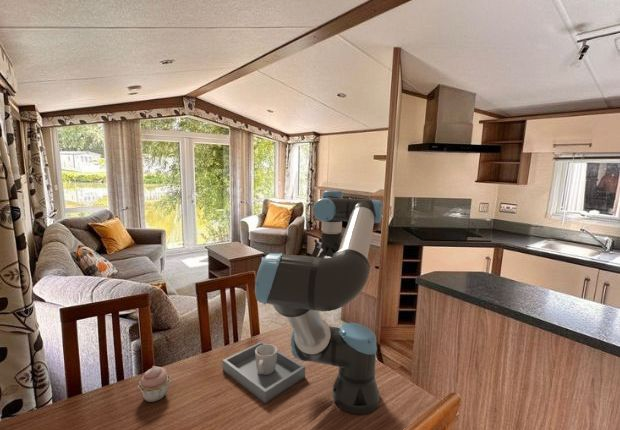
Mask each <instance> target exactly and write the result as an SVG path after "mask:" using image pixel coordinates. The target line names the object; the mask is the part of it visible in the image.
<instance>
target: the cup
mask: <svg viewBox="0 0 620 430" xmlns="http://www.w3.org/2000/svg"><path fill="white" fill-rule="evenodd" d="M278 351H279V350H278V347H277V346H276V345H273V344H269V343H266V344H264V345H260V346H258V347H257V348H256V350H255V357H256V366H257V371H258V373H259V374H262V375H268V374H271V373H273V372H274V370H275V368H276V360H277V352H278Z"/></svg>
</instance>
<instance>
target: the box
mask: <svg viewBox="0 0 620 430" xmlns="http://www.w3.org/2000/svg"><path fill="white" fill-rule="evenodd" d="M264 344H267V343H266V342H264V341H259V342H258V343H255V344H253V345H252V346H249V347H247V348H245V349H243V350H241V351H239V352H236V353H234V354H232V355H230V356H228V357H226V358H224V359H222V371H223V372H224V373H225V374H226V375H228V377H230V378H232V379H233V380H234V381H236V382H237V383H239V385H240V386H242V387H243V388H244V389H245V390H247V392H249V393H250V394H252V395H253V396H255V397H256V398H257V399H258V400H260V401H261V402H263V403H264V404H267V403H269V402H270V401H272V400H273V399H274V398H276V397H278V396H279V395H281V394H282V393H284V392H285V391H286V390H288V389H291V387H293V386H294V385H296V384H297V383H299V382H300V381H302V380H303V379H305V378H306V366H305V365H303V364H302V363H300V362H298V361H297V360H295V359H293V358H291V357H289V356H288V355H286V354H284V353H282V352H281V351H279V350H278V352H277V360H276V368H275V370H274V372H273V373H271V374H268V375H262V374H259V373H258V371H257V366H256V357H255V350H256V348H257V347H258V346H260V345H264Z"/></svg>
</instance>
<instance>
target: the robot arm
mask: <svg viewBox="0 0 620 430" xmlns="http://www.w3.org/2000/svg"><path fill="white" fill-rule="evenodd" d="M312 213H313V216H314V217H315V218H316V219H317V220H318V221H321V228H320V230H321V233H320V239H321V240H320V241H317V242H315V244H314V248H313V251H312V252H311V255H310V256H309V255H296V254H285V253H282V252H279V253H273V252H272V253H268V254H266V255H265V256H264V257H263V259H262V260H261V261H260V264H259V267H258V270H257V272H256V276H255V285H254V294H255V296H254V297H255V299H256V301H257V302H258V303H262V304H263V305H268V304H269V305H271V306H273V308H274V310H275V311H276V312H277V313H278V314H280V315H281V316H283V317H285V318H287V321H288V322H289V324H290V326H291V328H292V333H291V337H290V346H291V349H290V350H291V354H292V355H293V357H294V358H295V359H297V360H300V361H303V362H311V363H316V364H322V365H328V366H332V367H337V368H338V372H337V374H336V378H335V380H334V383H333V386H332V393H331V394H332V399H333V400H334V403H335V404H336V406H337V407H338V408H340V409H341V410H343V411H345V412H347V413H350V414H353V415H365V414H369V413H372V412H373V411H375V410H376V409H377V408H378V406H379V404H380V390H379V387H378V384H377V380H376V360H377V359H376V357H377V351H378V346H377V336H376V334H375V332H374V331H373V330H371V329H370V327H368V326H366V325H365V324H362V323H357V322H345V323H343V324H342V325H340V327H335V326H330V325H328V323H327V322H326V321H325V320H324V319H323V318H322V316H321V313H320V312H331V311H335V310H338V309H342V307H345V306H347V304H349V303H350V302H352V301H353V300H354V299H355V298H357V297H358V296H359V294H360V293H361V292H362V291H363V289H364V288H365V286H366V285H367V282H368V279H369V277H370V271H371V266H370V261H369V251H370V247H371V242H372V235H373V230H374V226H375V225H374V224H379V223H381V222H382V219H383V218H382V217H383V202H382V201H381V200H379V199H371V198H369V199H368V198H367V199H366V198H365V199H364V198H344V193H343V192H342V191H341V190H326V189H325V190H323V191H322V197H321V198H319V199H318V200H317V201H316V202H314V204H313V207H312ZM343 222H347V225H346V227H345V230H344V233H343V236H342V227H343ZM320 251H321V252H320Z"/></svg>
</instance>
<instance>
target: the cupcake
mask: <svg viewBox="0 0 620 430" xmlns="http://www.w3.org/2000/svg"><path fill="white" fill-rule="evenodd" d="M168 374H169V373H167V371H166V369H165V368H164V367H161V366H156V365H152V367H151V368H149V369H147V371H145V372H144V374H143V376H142V377H140V378H141V379H140V381H138V383H139V385H137V388H138V389H139V390H140V391H141V394H142V397H143V399H144V400H145V401H146V402H148V403H149V402H150V403H151V402H152V403H154V402H157V401H159V400H161V399H163V398H164V397H165V396H166V394H167V392H168V391H167V390H168V386H169V385H170V382H171V378H172V375H168Z"/></svg>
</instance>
